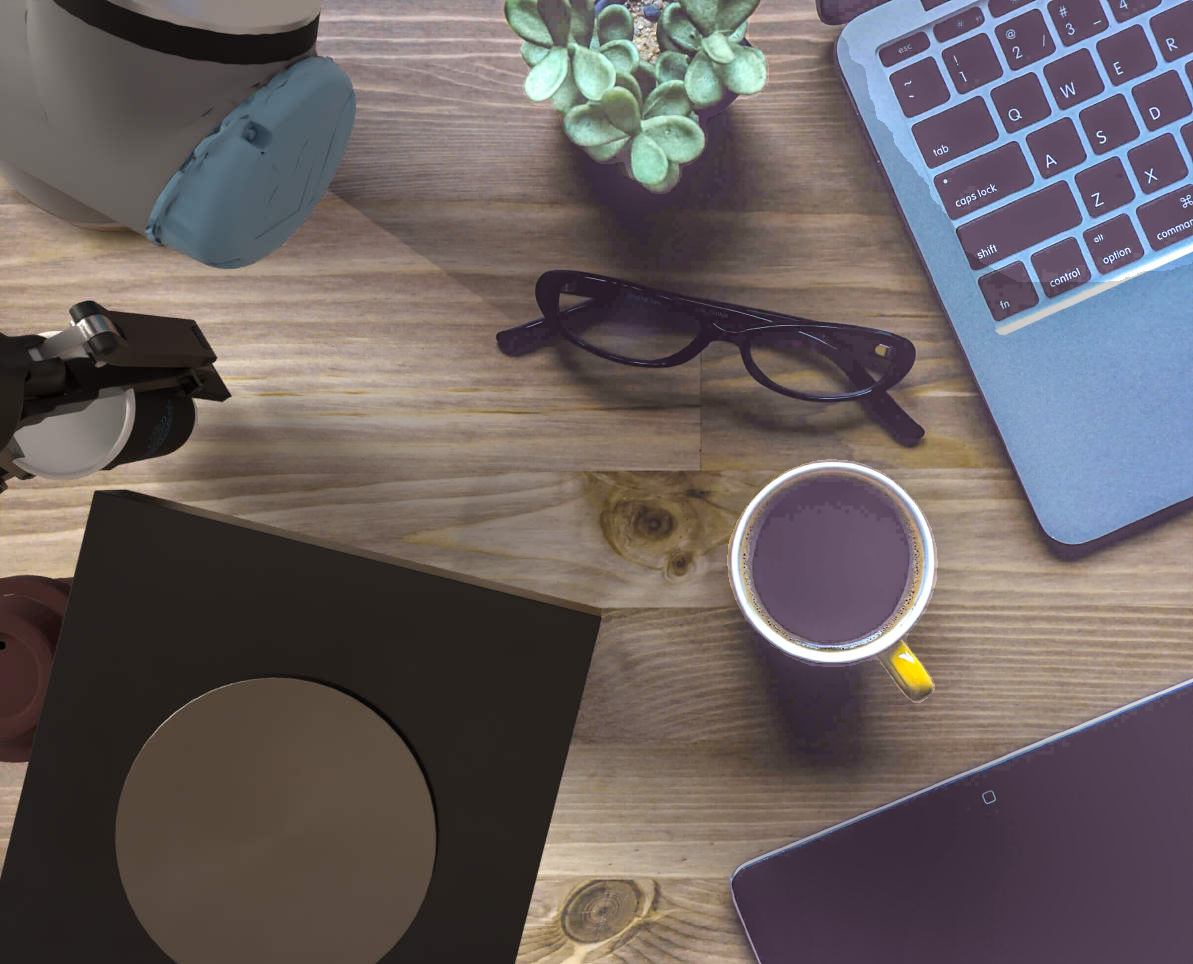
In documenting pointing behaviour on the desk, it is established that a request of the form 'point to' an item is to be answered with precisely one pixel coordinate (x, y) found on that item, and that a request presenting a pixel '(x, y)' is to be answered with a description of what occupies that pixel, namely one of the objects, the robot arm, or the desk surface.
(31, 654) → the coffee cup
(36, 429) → the dixie cup
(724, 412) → the desk surface
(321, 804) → the stove
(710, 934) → the desk surface
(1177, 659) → the desk surface
